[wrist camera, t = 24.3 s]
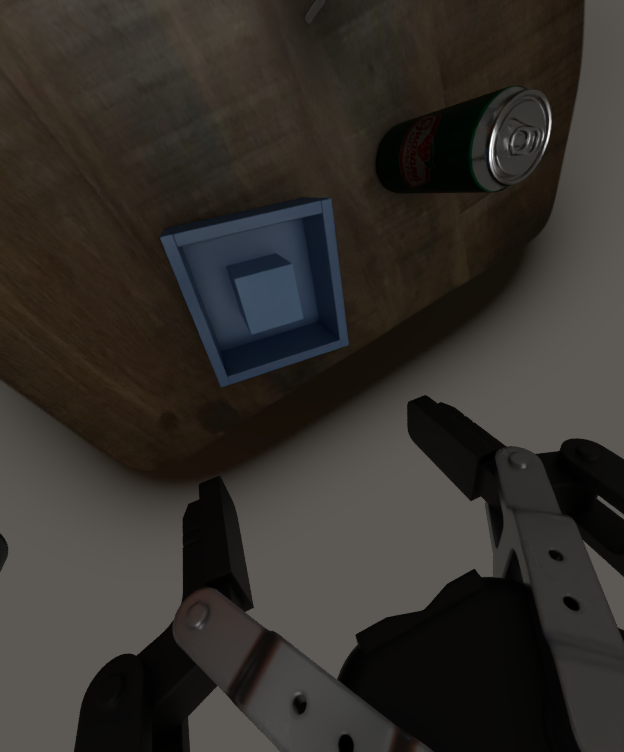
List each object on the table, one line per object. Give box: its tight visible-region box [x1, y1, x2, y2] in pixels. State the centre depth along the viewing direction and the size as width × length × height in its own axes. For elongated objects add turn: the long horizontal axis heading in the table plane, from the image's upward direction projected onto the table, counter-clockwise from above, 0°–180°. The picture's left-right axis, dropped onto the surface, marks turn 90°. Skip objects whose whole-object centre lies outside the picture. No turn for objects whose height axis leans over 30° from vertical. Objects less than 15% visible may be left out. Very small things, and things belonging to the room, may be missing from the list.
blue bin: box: [160, 197, 349, 387], centre depth 26 cm, size 12×12×6 cm
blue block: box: [226, 253, 303, 335], centre depth 25 cm, size 4×4×5 cm
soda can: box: [378, 86, 552, 193], centre depth 22 cm, size 5×5×12 cm
